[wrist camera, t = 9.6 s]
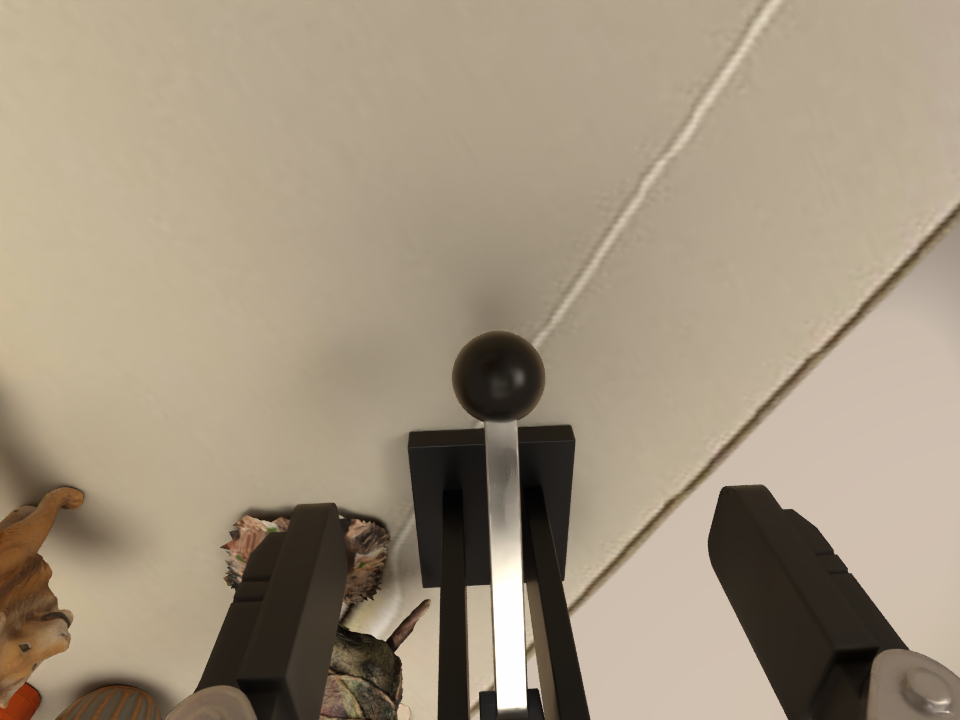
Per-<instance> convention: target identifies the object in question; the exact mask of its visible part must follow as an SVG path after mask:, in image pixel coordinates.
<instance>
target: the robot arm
mask: <svg viewBox="0 0 960 720" xmlns="http://www.w3.org/2000/svg"><path fill="white" fill-rule="evenodd" d="M708 552H709V557H710V561H711V564H712V567H713V569H714V571H715V573H716V575H717V577H718V579H719V581H720V583H721V585H722V587H723V589H724V591H725V593H726V595H727V597H728V599H729V601H730V603H731V605H732V607H733V609H734V611H735V613H736V615H737V617H738V619H739V622H740V623H741V625H742V627H743V629H744V631H745V634H746V636H747V637H748V639H749V642H750V644H751V646H752V648H753V650H754V652H755V653H756V656H757V658H758V660H759V662H760V664H761V666H762V668H763V669H764V672H765V674H766V676H767V678H768V680H769V682H770V684H771V686H772V688H773V690H774V692H775V694H776V696H777V698H778V700H779V702H780V704H781V706H782V707H783V710H784V712H785V714H786V716H787V718H788V720H960V678H958V676H956V675H955V674H954V673H953V672H952V671H950V670H949V669H948V668H946V667H945V666H943V665H942V664H940V663H939V662H937V661H935V660H933V659H931V658H929V657H927V656H925V655H922V654H920V653H917V652H913V651H910V650H909V648H908V647H907V646H906V645H905V644H904V642H903V641H902V640H901V639H900V637H899V636H898V635H897V633H896V632H895V631H894V629H893V628H892V627H891V625H890V624H889V623H888V621H887V620H886V619H885V617H884V616H883V615H882V613H881V612H880V611H879V610H878V608H877V607H876V606H875V604H874V603H873V601H872V600H871V599H870V597H869V596H868V595H867V593H866V592H865V591H864V589H863V588H862V587H861V586H860V584H859V583H858V582H857V580H856V579H855V578H854V576H853V575H852V574H851V573H848V568H847V567H846V566H845V564H844V563H843V562H842V560H841V559H840V558H839V556H838V555H835V554H834V550H833V548H832V547H831V546H830V544H829V543H828V542H827V540H826V539H825V538H824V537H823V535H822V534H821V533H820V531H819V530H818V529H817V528H816V527H815V526H814V525H812V524H811V523H810V522H809V521H807V520H806V519H805V518H803V517H802V516H801V515H799V514H798V513H797V512H796V511H794V510H793V509H784V510H783V509H782V508H781V507H780V505H779V504H778V502H777V501H776V500H775V498H774V497H773V495H772V494H771V493H770V491H769V490H768V489H767V488H766V487H765V486H763V485H740V486H725V487H723V488H722V489H721V491H720V494H719V498H718V502H717V506H716V510H715V513H714V517H713V521H712V525H711V529H710V533H709V537H708ZM241 578H242V580H241V582H240V583H239V585H238V587H237V590H236V592H235V595H234V597H233V598H234V600H233V603H231V605H230V607H229V610H228V612H227V615H226V617H225V620H224V623H223V625H222V628H221V630H220V633H219V635H218V638H217V640H216V643H215V645H214V648H213V650H212V653H211V655H210V658H209V660H208V663H207V665H206V668H205V670H204V673H203V675H202V678H201V680H200V682H199V684H198V686H197V688H196V690H195V691H194V693H193V694H192V695H190V696H189V697H187V698H186V699H184V700H183V701H182V702H180V703H179V704H178V705H177V706H176V707H175V708H174V709H173V710H172V711H171V712H170V713H169V714H168V715H167V717H166V718H165V719H164V720H319V717H320V712H321V707H322V702H323V697H324V692H325V687H326V682H327V677H328V672H329V667H330V662H331V657H332V652H333V647H334V642H335V637H336V632H337V627H338V622H339V617H340V612H341V607H342V602H343V597H344V592H345V587H346V580H347V554H346V549H345V544H344V539H343V534H342V529H341V524H340V519H339V514H338V510H337V506H336V504H335V503H321V504H299V505H297V506H296V507H295V509H294V512H293V514H292V517H291V520H290V523H289V526H288V529H287V532H270V533H269V534H268V535H267V536H266V537H265V538H264V539H263V541H262V542H261V543H260V544H259V545H258V546H257V547H256V548H255V550H254V551H253V552H252V553H251V555H250V557H249V560H248V562H247V565H246V567H245V570H244V572H243V575H242V577H241Z"/></svg>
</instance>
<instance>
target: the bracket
mask: <svg viewBox="0 0 960 720" xmlns="http://www.w3.org/2000/svg"><path fill="white" fill-rule="evenodd" d="M518 451H519V477H520V503H521V530H522V556H523V582H524V583H526V585H527V593H528V600H529V607H530V614H531V622H532V629H533V636H534V643H535V650H536V657H537V665H538V672H539V679H540V686H541V694H542V701H543V708H544V715H545V720H590V715H589V710H588V706H587V701H586V696H585V691H584V686H583V681H582V676H581V672H580V668H579V662H578V657H577V652H576V647H575V643H574V638H573V633H572V628H571V623H570V618H569V613H568V609H567V604H566V599H565V594H564V589H563V584H562V581H564V578H565V565H566V553H567V540H568V528H569V515H570V502H571V490H572V477H573V465H574V452H575V437H574V434H573V431H572V427H571V426H570V425H568V426H545V427H522V428H518ZM408 454H409V463H410V473H411V482H412V491H413V501H414V510H415V519H416V529H417V538H418V547H419V557H420V566H421V575H422V585H423V588H435V587H441V588H440V634H439V680H438V720H470V699H469V661H468V624H467V586H474V585H490V563H489V537H488V512H487V487H486V461H485V436H484V429H476V430H453V431H430V432H410V433H409V441H408Z"/></svg>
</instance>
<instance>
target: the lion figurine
mask: <svg viewBox="0 0 960 720" xmlns="http://www.w3.org/2000/svg"><path fill="white" fill-rule="evenodd" d="M82 503H83V493H82V492H80V491H78V490H76V489H73V488H68V487H62V488H59V489H55V490H53V491H51V492H48V493H47V494H46V495H45V496H44V498H43V499H42V500H41V502H40V503H39V505H38V506H37V508H36V507H33V506H21V507H19V508H17V509H16V510H14V511H12V512H11V513H10V514H9V515H8V516H7V517H6V518H5V519H4V520H2V521H1V522H0V707H1V708H6V707H7V706H8V703H9V700H10V698H11V697H12V696H13V695H14V694H15V692H16V691H17V690H18V689H19V688H20V687H22V686H23V685H24V683H25V681H26V680H27V679H28V678H29V677H30V675H31V673H32V672H33V671H34V670H35V669H36V668H37V667H38V666H39V665H40V664H41V663H42V661H43V660H45V659H47V658H49V657H51V656H53V655H56V654H58V653H61V652H64V651H65V650H67V649H68V648H69V643H70V640H71V635H70V633H68V628H69V627H70V625H71V623H72V621H73V614H72V613H71V611H69V610H58V602H57V597H55V596H54V594H53V593H52V591H51V590H50V589H49V587H48V582H49V579H50V578H51V576H52V570H51V568H50V567H49V565H48V564H47V563H46V562H45V561H44V560H43V557H42V556H41V555H39V554H37V552H38V550H39V548H40V547H41V545H42V544H43V542H44V540H45V539H46V537H47V535H48V533H49V531H50V529H51V527H52V526H53V523H54V519H55V517H56V514H57V512H58V510H59V509H60V508H63V509H71V510H74V509H77V508H78V507H79V506H80V505H81V504H82Z"/></svg>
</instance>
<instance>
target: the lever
mask: <svg viewBox="0 0 960 720" xmlns="http://www.w3.org/2000/svg"><path fill="white" fill-rule="evenodd" d="M452 383H453V389H454V392H455V395H456V397H457V399H458V401H459V403H460V404H461V406H462V407H463V408H464V409H465V410H466V411H467V412H468V413H469V414H470V415H472V416H473V417H475V418H476V419H478V420H480V421H483V422H484V436H485V461H486V487H487V512H488V537H489V563H490V588H491V614H492V639H493V665H494V690H495V691H481V692H479V704H480V720H545V717H544V712H543V708H542V703H541V699H540V694H539V690H538V689H537V688H536V689H528V687H527V661H526V634H525V608H524V582H523V556H522V530H521V503H520V477H519V451H518V425H517V420H519V419H521V418H523V417H525V416H526V415H527V414H529V413H530V412H531V411H532V410H533V409H534V408H535V406H536V405H537V404H538V402H539V400H540V398H541V396H542V394H543V391H544V386H545V369H544V365H543V362H542V359H541V357H540V355H539V353H538V352H537V351H536V349H535V348H534V347H533V346H532V345H531V344H530V343H529V342H528V341H527V340H525V339H524V338H522V337H520V336H518V335H516V334H513V333H510V332H504V331H493V332H487V333H484V334H481V335H479V336H477V337H475V338H473V339H472V340H471V341H469V342H468V343H467V344H466V345H465V346H464V347H463V348H462V350H461V351H460V353H459V354H458V356H457V358H456V360H455V363H454V366H453V372H452Z"/></svg>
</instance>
